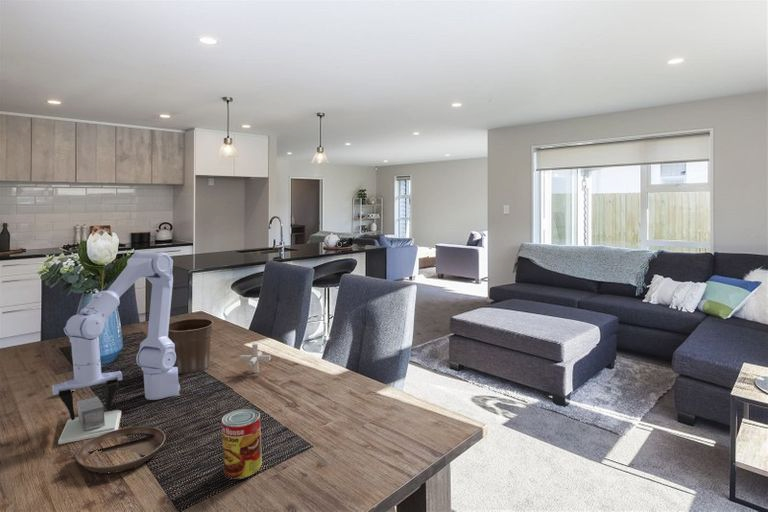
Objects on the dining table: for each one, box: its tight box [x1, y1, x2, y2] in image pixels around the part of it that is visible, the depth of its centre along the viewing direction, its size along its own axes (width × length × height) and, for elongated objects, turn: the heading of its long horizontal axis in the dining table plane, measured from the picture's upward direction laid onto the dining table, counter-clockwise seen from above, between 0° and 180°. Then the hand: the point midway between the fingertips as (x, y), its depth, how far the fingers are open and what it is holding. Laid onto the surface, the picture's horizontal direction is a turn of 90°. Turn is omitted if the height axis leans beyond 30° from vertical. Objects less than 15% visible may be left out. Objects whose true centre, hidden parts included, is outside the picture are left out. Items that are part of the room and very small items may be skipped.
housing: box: [76, 396, 105, 431], centre depth 113 cm, size 9×4×5 cm, turn 42°
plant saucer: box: [75, 425, 166, 474], centre depth 103 cm, size 18×18×3 cm
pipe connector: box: [239, 342, 272, 374], centre depth 154 cm, size 10×10×10 cm
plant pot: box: [168, 318, 214, 375], centre depth 158 cm, size 16×16×16 cm
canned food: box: [221, 408, 263, 478], centre depth 97 cm, size 8×8×12 cm
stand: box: [57, 409, 122, 445], centre depth 114 cm, size 12×12×2 cm
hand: (91, 413), depth 113 cm, fingers open, 7 cm apart
